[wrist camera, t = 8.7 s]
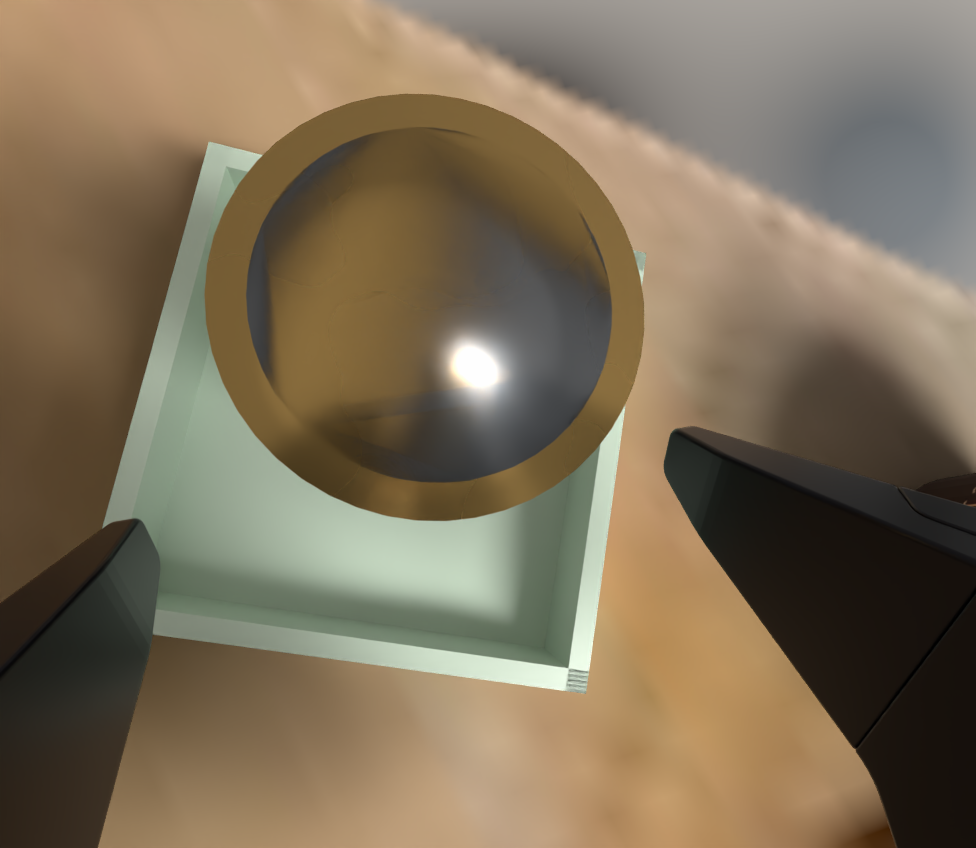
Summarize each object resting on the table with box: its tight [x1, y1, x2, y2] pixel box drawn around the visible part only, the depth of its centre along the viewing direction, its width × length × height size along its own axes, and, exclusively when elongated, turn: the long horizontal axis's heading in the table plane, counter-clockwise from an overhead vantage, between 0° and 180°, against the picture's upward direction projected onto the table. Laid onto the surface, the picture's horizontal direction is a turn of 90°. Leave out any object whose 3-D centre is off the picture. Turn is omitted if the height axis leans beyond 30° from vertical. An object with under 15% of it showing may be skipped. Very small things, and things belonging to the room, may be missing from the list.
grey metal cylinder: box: [204, 94, 644, 521], centre depth 13 cm, size 5×5×13 cm
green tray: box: [102, 142, 646, 694], centre depth 18 cm, size 13×13×3 cm
